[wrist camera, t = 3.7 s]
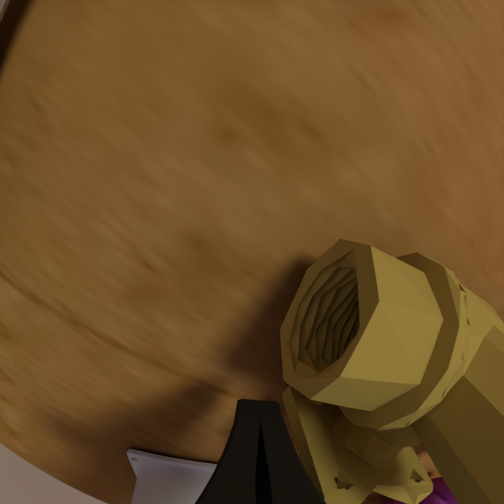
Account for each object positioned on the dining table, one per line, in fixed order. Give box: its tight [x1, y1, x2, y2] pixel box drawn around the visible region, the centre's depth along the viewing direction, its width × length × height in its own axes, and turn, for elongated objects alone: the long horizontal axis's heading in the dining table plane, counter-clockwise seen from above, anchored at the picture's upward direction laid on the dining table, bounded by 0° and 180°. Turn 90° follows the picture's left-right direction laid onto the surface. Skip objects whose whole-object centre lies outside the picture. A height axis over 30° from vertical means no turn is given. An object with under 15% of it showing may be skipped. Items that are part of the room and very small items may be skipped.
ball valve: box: [280, 239, 504, 504], centre depth 9 cm, size 13×10×10 cm
